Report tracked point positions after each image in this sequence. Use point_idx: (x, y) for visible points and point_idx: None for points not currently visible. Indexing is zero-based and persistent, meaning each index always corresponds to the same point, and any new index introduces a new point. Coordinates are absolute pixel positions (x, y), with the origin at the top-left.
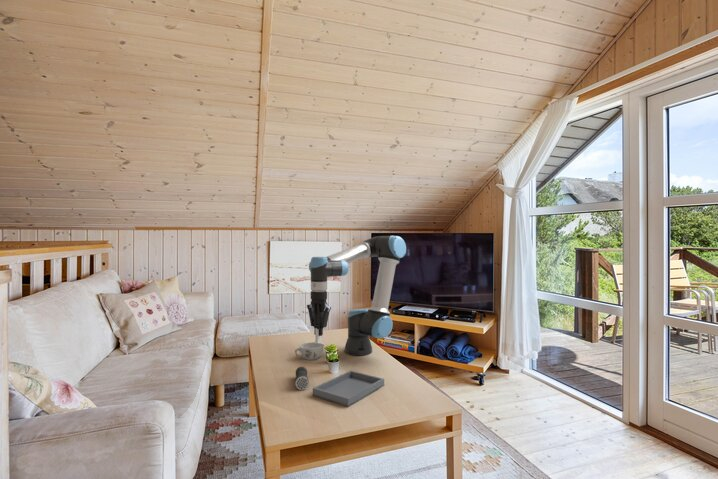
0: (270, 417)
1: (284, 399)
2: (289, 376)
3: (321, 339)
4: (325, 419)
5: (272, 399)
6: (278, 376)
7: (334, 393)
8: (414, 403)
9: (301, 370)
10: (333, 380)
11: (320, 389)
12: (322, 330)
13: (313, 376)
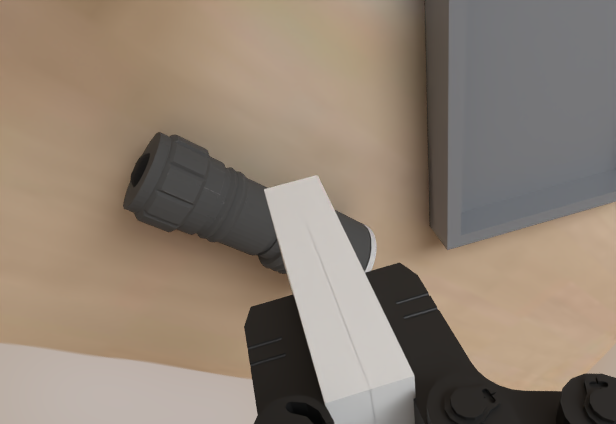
0: None
1: None
2: (66, 199)
3: (329, 204)
4: (602, 279)
5: None
6: (24, 253)
7: (583, 201)
8: None
9: (227, 228)
10: (462, 85)
11: (492, 228)
12: (455, 345)
13: (175, 59)
